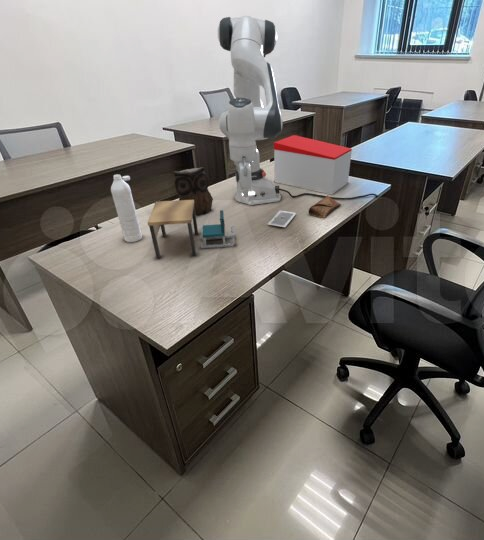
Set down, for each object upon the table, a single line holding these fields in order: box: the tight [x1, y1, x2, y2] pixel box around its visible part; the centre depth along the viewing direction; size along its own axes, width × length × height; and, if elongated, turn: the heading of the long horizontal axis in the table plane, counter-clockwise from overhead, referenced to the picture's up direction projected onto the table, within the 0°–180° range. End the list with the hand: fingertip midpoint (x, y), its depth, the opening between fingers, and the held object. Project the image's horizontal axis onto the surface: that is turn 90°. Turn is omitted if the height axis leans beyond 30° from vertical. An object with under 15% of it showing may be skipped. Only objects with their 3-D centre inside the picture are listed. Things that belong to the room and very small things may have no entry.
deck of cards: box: [267, 210, 297, 228], centre depth 146 cm, size 8×15×2 cm, turn 160°
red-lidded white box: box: [273, 134, 353, 195], centre depth 182 cm, size 21×35×21 cm, turn 58°
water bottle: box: [110, 173, 143, 243], centre depth 126 cm, size 9×6×25 cm
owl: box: [173, 166, 214, 217], centre depth 148 cm, size 13×13×20 cm
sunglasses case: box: [308, 194, 342, 219], centre depth 156 cm, size 18×7×7 cm
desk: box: [147, 199, 199, 260], centre depth 125 cm, size 14×18×14 cm
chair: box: [200, 209, 236, 249], centre depth 127 cm, size 12×8×12 cm, turn 99°
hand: (245, 193), depth 121 cm, fingers open, 5 cm apart
